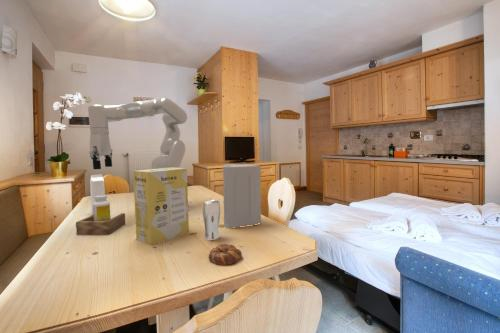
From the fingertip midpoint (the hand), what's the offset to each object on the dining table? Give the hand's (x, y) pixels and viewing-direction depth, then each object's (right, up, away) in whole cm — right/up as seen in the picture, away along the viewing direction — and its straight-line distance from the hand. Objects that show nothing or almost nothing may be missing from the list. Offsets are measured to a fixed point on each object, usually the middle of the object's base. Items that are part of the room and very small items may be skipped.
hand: (103, 167), depth 122 cm
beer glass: (+55, -29, -18) cm, 64 cm away
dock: (+3, -28, -5) cm, 29 cm away
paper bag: (+64, -27, +1) cm, 69 cm away
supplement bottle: (+3, -26, -5) cm, 26 cm away
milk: (-16, -26, +23) cm, 38 cm away
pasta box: (+34, -29, -14) cm, 46 cm away
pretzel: (+62, -31, -36) cm, 78 cm away
